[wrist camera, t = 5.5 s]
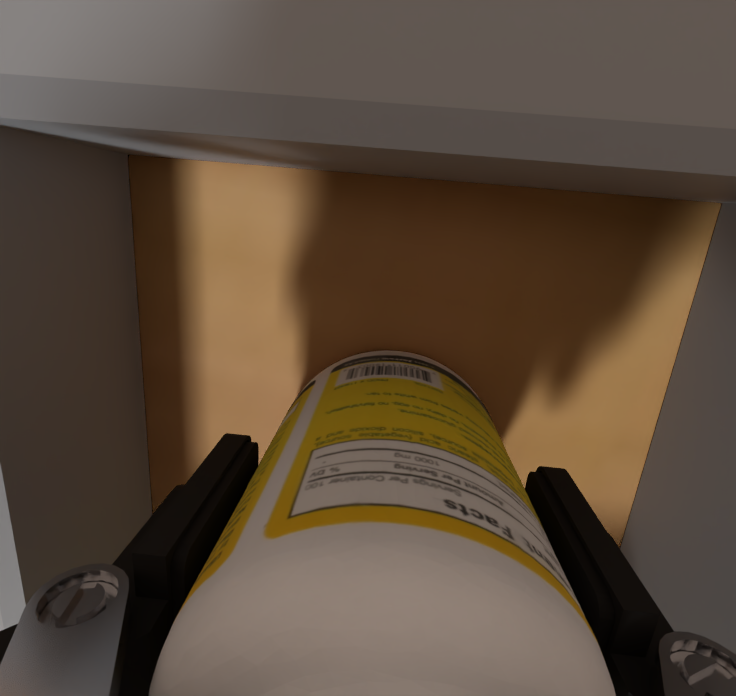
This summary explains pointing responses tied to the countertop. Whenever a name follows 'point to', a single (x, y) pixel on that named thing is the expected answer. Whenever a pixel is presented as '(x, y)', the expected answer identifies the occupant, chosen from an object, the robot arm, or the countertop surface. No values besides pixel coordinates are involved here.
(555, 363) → the countertop surface
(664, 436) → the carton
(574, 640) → the pill bottle
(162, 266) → the countertop surface
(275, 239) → the countertop surface
